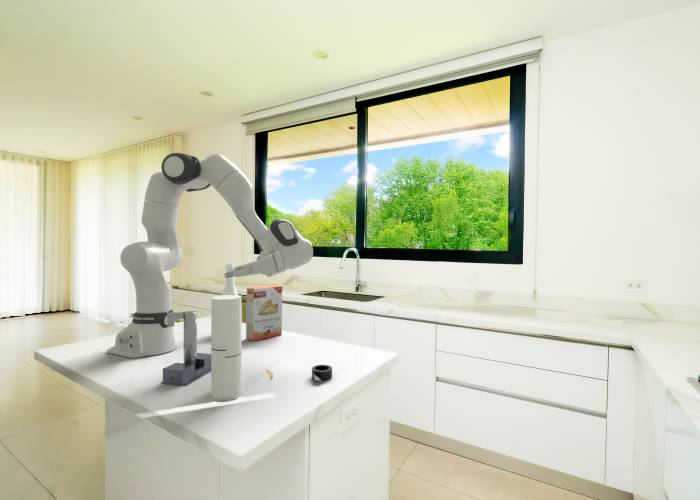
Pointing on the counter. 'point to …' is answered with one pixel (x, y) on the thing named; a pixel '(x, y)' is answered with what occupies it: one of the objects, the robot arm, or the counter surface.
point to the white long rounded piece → (230, 285)
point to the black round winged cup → (321, 372)
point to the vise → (187, 371)
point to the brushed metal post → (187, 334)
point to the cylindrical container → (225, 346)
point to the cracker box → (263, 312)
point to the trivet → (270, 373)
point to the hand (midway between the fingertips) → (229, 275)
